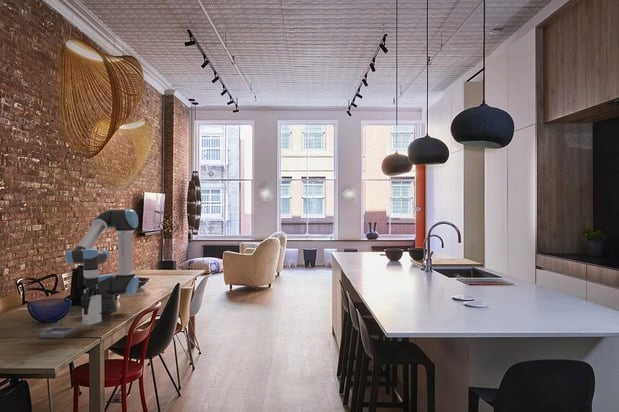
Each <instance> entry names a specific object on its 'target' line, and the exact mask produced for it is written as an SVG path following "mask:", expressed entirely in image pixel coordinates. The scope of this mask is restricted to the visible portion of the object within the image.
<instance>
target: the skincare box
mask: <svg viewBox="0 0 619 412" xmlns="http://www.w3.org/2000/svg"><path fill="white" fill-rule="evenodd" d="M88 298H89V297H88ZM89 308H90V320H89V321H84V309H82V308H81V314H82V315H81V317H82V318H81V319H82V320H81V323H82V324H83V325H87V326H90V325H94V324H98V323H101V322H102V314H101V295H92V296H91V297H90V304H89Z"/></svg>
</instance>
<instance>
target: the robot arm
mask: <svg viewBox="0 0 619 412" xmlns="http://www.w3.org/2000/svg"><path fill="white" fill-rule="evenodd" d="M138 227H139V217H138V214H137V212H136V211H135V210H134V209H128V208H127V209H125V208H124V209H123V208H122V209H107V210H104V211H103V212H100V213H99V214H98V215H97V216H96V217H95V218H93V220H92V223H91V227H90V228H89V229H88V230H87V231H86V233H85V234H84V236H83V237H82V239H81V240H80V241H79V243H78V244H77V246H76V247H75V248H74V249H71V250H70V249H69V250H67V251H66V253H65V254H64V255H65V257H64V258H65V262H66V263H68V264H74V265H76V264H82V266H83V268H82V269H83V271H82V272H83V273H82V274H83V285H84V286H85V289H82V297H81V306H80V307H81V310H82V309H84V321H89V320H90V308H89V304H90V297H91V296H92V295H101V315H102V314H109V313H114V312H117V311H118V305H117V302H116V300H115V296H117V295H118V296H122V295H124V296H128V295H129V296H131V295H134V294H136V292H137V290H138V288H139V284H140V283H139V282H140V279H139V276H137V275H136V272H135V271H134V270H133V269H134V267H133V265H134V263H133V259H134V258H133V256H134V254H133V233H134V232H135V231H136V228H138ZM108 229H115V230H114V231H115V232H116V233H117V267H118V268H117V270H118V271H117V272H116V273H115V274H114V273H107V274H101V275H99V274H100V273H99V272H100V271H99V270H100V269H99V265H100V264H104V263H106V262H108V261H109V259H110V253H109V251H108V250H107V249H98V248H94V246H95V245H96V243H97V241H98V240H99V238H101V235H103V233H104V232H106V231H107V230H108ZM88 297H89V298H88Z"/></svg>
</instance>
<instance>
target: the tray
mask: <svg viewBox="0 0 619 412" xmlns="http://www.w3.org/2000/svg"><path fill="white" fill-rule="evenodd" d="M75 331H76V332H77V326H75V327H74V326H54V327H51V328H49V329H47V330H44V331H41V332H39V338H41V339H42V338H45V339H54V338H55V339H64V338H66V337H68V336H70V335H72V334H74V333H75ZM73 332H74V333H73Z"/></svg>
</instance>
